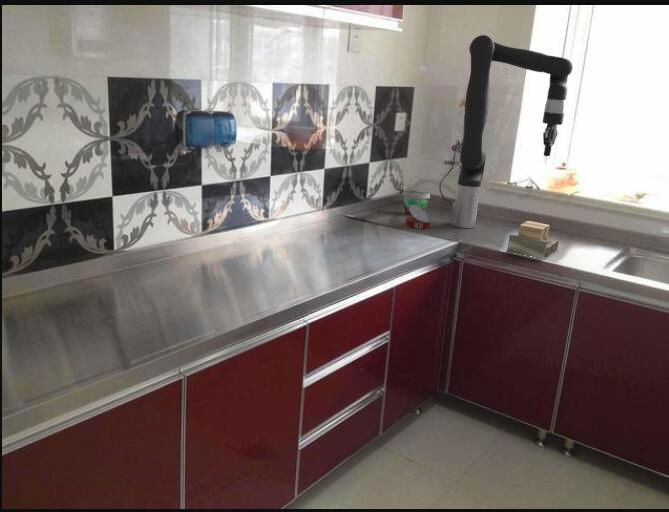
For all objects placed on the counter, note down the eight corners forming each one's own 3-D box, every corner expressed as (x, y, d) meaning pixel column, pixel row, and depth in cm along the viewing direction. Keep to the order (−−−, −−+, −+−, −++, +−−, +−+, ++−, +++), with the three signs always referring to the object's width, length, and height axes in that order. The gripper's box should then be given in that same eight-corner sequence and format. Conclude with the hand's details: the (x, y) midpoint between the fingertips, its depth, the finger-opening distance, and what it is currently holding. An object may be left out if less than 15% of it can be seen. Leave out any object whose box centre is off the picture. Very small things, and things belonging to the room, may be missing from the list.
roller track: (523, 242, 248) (526, 225, 246) (557, 249, 242) (560, 232, 240) (506, 252, 232) (509, 234, 230) (542, 259, 225) (545, 242, 223)
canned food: (420, 235, 266) (432, 214, 265) (426, 238, 256) (440, 217, 256) (397, 221, 264) (410, 200, 263) (403, 224, 254) (416, 203, 253)
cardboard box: (525, 239, 240) (528, 220, 238) (546, 243, 236) (549, 224, 234) (516, 243, 231) (519, 225, 229) (539, 248, 227) (542, 229, 225)
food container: (399, 214, 279) (401, 192, 277) (400, 211, 285) (402, 189, 282) (427, 217, 278) (430, 195, 275) (428, 215, 283) (430, 192, 281)
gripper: (549, 110, 258) (541, 153, 263) (540, 110, 247) (532, 155, 252) (568, 112, 254) (560, 156, 259) (559, 112, 244) (551, 158, 248)
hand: (546, 155), depth 256 cm, fingers closed
